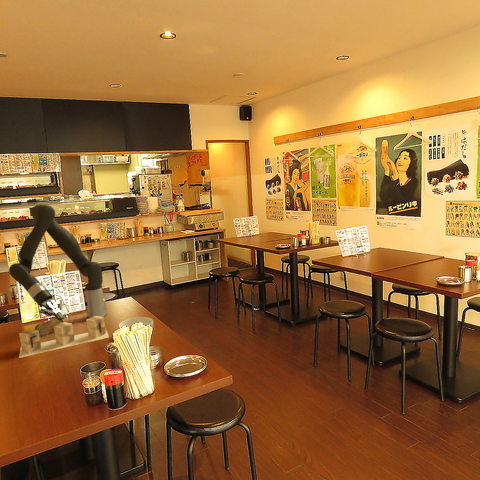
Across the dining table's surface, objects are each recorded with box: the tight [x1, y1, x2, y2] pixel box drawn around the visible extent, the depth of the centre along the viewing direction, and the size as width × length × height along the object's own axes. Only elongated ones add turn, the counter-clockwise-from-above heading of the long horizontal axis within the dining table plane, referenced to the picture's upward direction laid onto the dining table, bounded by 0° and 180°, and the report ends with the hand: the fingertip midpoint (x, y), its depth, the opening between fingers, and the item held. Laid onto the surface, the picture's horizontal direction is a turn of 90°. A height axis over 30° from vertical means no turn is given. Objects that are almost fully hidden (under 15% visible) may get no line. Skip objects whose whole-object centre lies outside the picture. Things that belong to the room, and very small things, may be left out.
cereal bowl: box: [118, 316, 154, 330], centre depth 198 cm, size 17×17×7 cm
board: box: [18, 328, 110, 359], centre depth 195 cm, size 40×14×1 cm, turn 116°
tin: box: [34, 317, 65, 339], centre depth 207 cm, size 15×3×8 cm, turn 143°
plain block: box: [54, 321, 75, 345], centre depth 194 cm, size 6×6×9 cm
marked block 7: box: [18, 328, 41, 353], centre depth 187 cm, size 6×6×9 cm
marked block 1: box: [86, 316, 107, 338], centre depth 200 cm, size 6×6×9 cm
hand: (62, 319), depth 193 cm, fingers closed
